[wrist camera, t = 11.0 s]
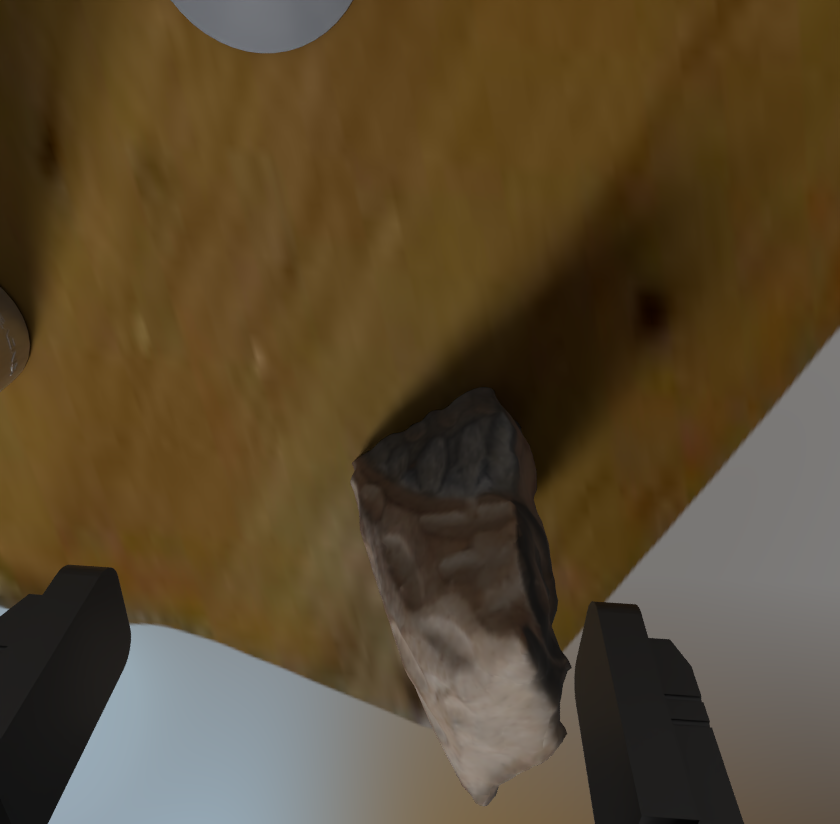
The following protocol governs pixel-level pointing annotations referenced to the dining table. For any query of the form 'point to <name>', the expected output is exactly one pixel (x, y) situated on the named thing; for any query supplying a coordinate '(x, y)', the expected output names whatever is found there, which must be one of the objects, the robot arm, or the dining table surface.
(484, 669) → the stone
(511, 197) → the dining table surface
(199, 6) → the coaster
